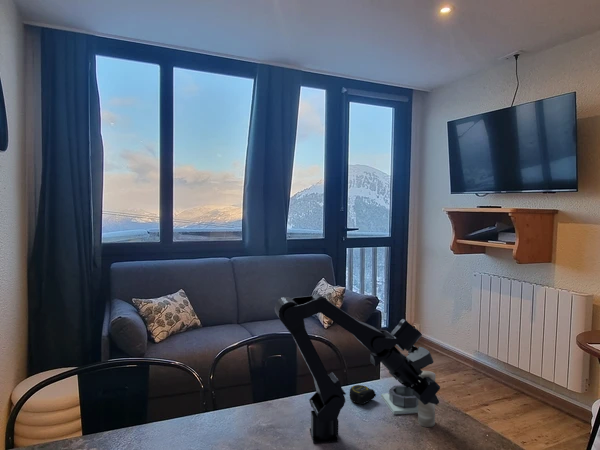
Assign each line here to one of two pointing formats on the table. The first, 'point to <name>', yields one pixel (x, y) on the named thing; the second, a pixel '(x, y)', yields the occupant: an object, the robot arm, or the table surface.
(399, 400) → the collar
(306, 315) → the robot arm
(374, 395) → the tape measure
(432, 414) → the peg
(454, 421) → the table surface
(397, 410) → the collar board
